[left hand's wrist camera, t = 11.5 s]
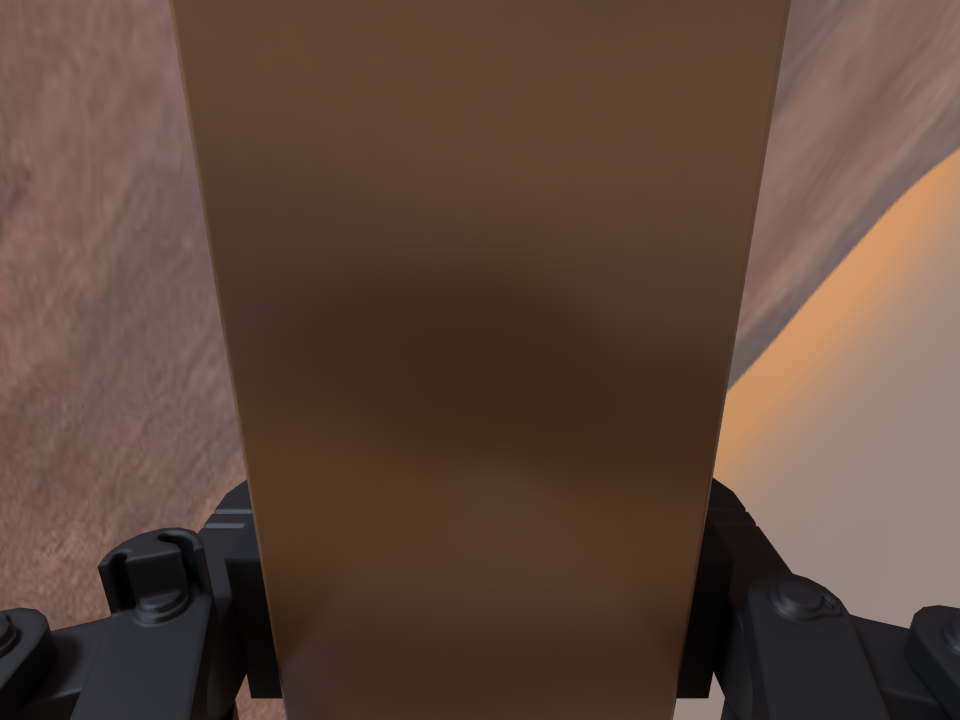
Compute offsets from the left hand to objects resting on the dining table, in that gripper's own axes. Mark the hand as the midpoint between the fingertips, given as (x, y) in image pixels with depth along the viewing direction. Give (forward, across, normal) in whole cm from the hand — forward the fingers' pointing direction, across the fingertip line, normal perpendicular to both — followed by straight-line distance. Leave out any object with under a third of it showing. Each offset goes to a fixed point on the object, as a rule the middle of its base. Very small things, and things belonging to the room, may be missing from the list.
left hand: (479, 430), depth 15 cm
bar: (+1, 0, -22) cm, 22 cm away
